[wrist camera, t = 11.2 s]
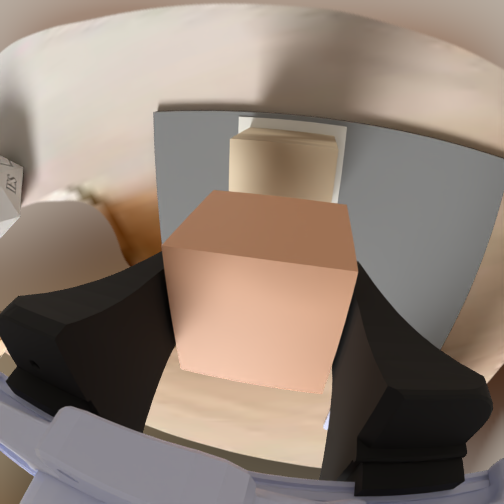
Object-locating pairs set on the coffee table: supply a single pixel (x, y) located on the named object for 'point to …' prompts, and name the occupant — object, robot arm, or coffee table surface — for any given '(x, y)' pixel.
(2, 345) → the beer glass
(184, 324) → the terracotta block
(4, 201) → the die
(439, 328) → the build mat
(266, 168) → the birch block
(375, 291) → the robot arm
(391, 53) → the coffee table surface
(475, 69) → the coffee table surface
